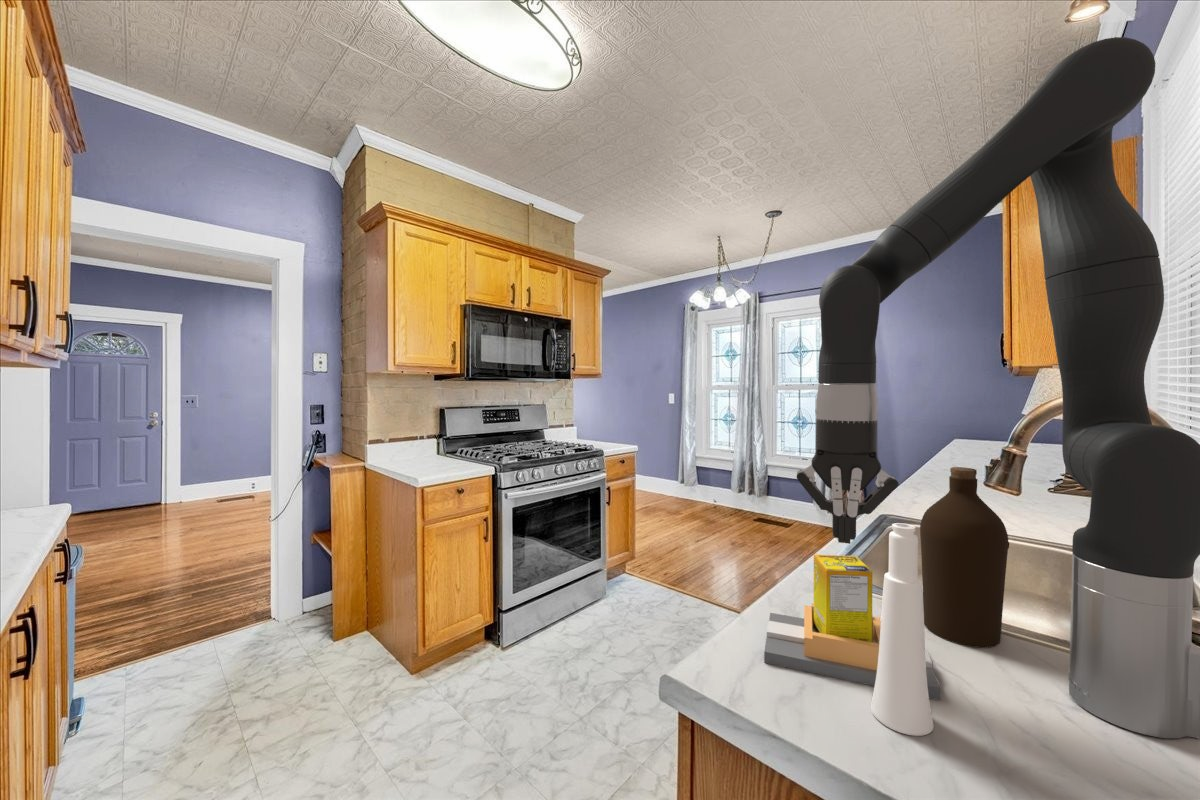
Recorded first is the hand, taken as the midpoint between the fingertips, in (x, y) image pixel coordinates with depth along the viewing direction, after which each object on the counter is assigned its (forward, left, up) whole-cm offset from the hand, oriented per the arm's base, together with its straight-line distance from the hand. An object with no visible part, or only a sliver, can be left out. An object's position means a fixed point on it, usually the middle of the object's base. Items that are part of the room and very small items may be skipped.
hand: (844, 541), depth 66 cm
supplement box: (0, 0, -14) cm, 14 cm away
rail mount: (0, 0, -16) cm, 16 cm away
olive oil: (-17, -14, -16) cm, 27 cm away
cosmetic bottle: (-5, +11, -16) cm, 20 cm away
